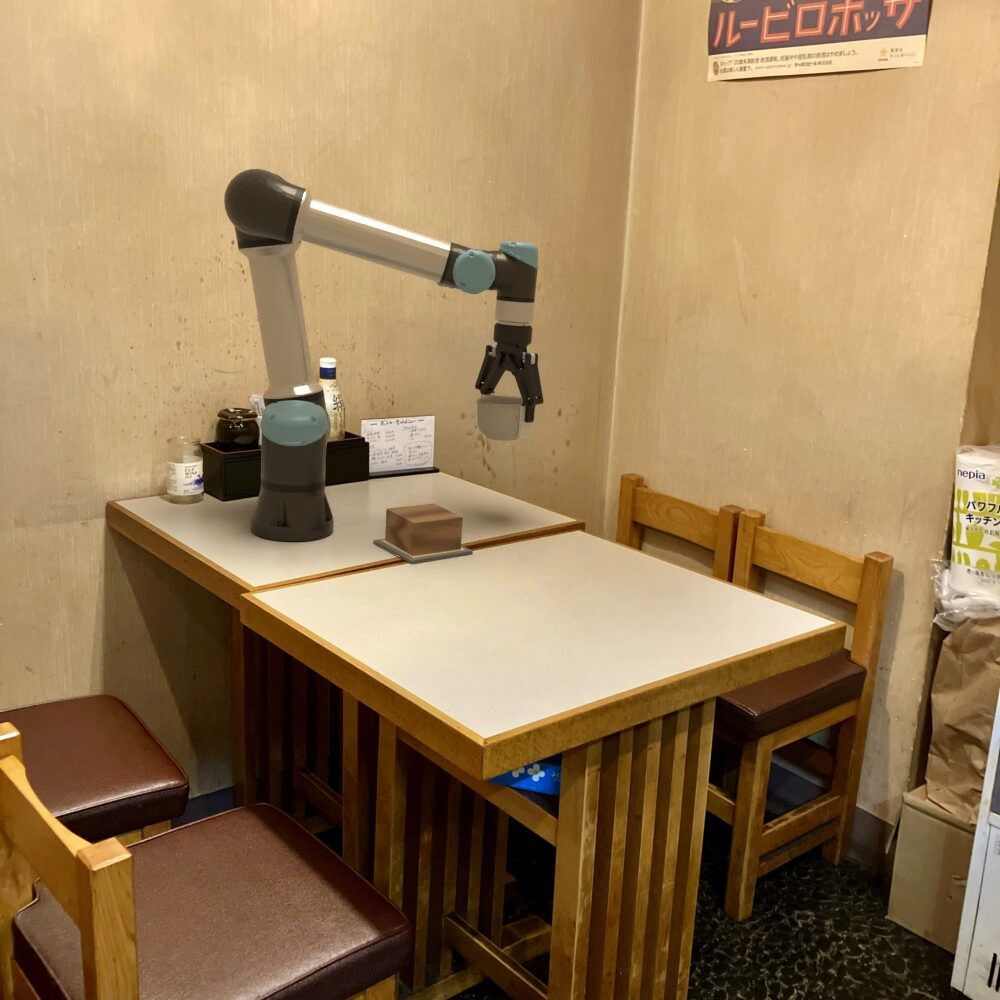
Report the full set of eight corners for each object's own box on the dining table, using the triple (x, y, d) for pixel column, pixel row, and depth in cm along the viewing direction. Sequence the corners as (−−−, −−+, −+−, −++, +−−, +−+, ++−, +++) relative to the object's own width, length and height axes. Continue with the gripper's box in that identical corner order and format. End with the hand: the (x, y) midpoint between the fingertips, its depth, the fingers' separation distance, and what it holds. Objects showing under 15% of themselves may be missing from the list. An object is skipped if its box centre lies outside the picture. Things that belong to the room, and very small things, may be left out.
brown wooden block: (385, 540, 182) (386, 508, 181) (432, 534, 188) (433, 503, 186) (412, 556, 174) (414, 523, 173) (460, 549, 180) (462, 517, 178)
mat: (373, 543, 182) (373, 539, 182) (432, 534, 190) (432, 531, 190) (411, 564, 172) (411, 560, 172) (472, 554, 180) (472, 550, 180)
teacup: (522, 446, 194) (526, 405, 192) (468, 439, 195) (471, 399, 193) (534, 434, 207) (538, 395, 205) (483, 427, 209) (486, 389, 207)
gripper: (568, 330, 188) (558, 443, 194) (492, 316, 206) (484, 420, 212) (537, 330, 184) (528, 445, 189) (462, 316, 202) (455, 421, 207)
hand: (505, 432), depth 200 cm, fingers closed on teacup, 12 cm apart
